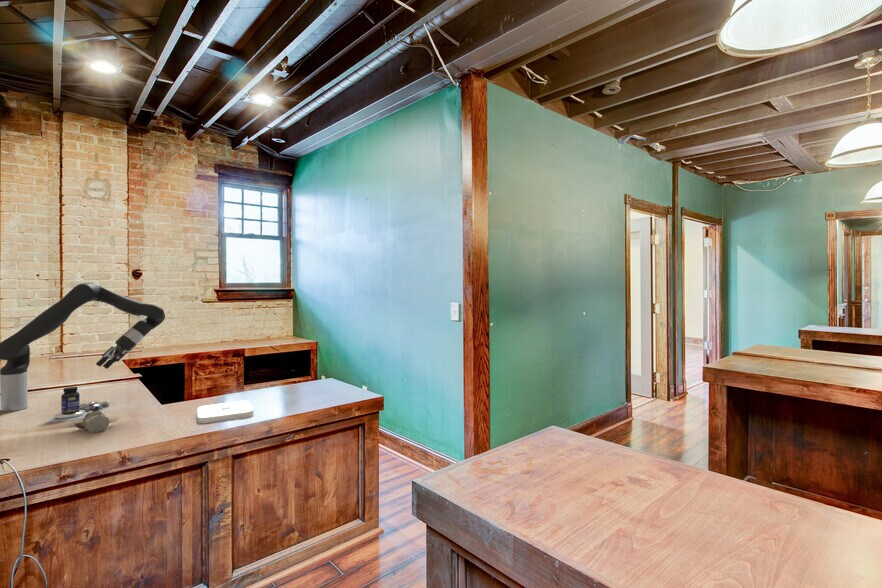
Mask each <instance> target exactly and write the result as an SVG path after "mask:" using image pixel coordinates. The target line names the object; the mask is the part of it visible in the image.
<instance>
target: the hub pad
mask: <svg viewBox="0 0 882 588" xmlns="http://www.w3.org/2000/svg"><path fill="white" fill-rule="evenodd" d="M84 414H85V410H80V411H79V412H77V413H73V414H62V413H60V412H57V413H56V414H54V416H55V418H56V419H68V418H74V417H79V416H82V415H84Z"/></svg>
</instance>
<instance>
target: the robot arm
mask: <svg viewBox="0 0 882 588" xmlns="http://www.w3.org/2000/svg"><path fill="white" fill-rule="evenodd" d="M93 301H94V302H100V303H105V304H108V305H110V306H112V307H114V308H116V309H117V310H120V311H121V312H124V313H128V314H130V315H133V316H136V317H142V316H144V317H146V318H145V319H143V320H139V321H137V322H136V323H135V324H134V325H132V327H130V328H128V330H126V332H124V333H123V334H122V335H121V336H120V337H118V339H117V340H115V343H114V344H115V345H116V346H110V348H108V349H107V350H106V351H105V352H104V353H102V355H101V358H100V359H99V360H98V361H97V362H96V363H95V364H96V366H97V367H104V369H109V368H110V367H111V366H112V365H113V364H114V363H118V362H119V361H120V360H121V359H122V358H123V357H125V355H126V354H128V352H131V351H132V350H133V349H134V348H135V347H136V346H137V345H138V344H139V343H140V342H141V341H142V340H143V339H144V338H145V336H147V335H148V334H149V333H151V331H152V330H154V329H155V328H157V327H158V326H160V325H161V324H162V323H163V322H164V321H165V319H166V314H165V310H164V309H163V308H162V307H161V306H159V305H156V304H152V303H147V302H146V303H144V302H142V301H139V300H135V299H132V298H130V297H127V296H123V295H121V294H118V293H115V292H113V291H110V289H106V288H105V287H102V285H101V286H100V285H99V284H97V283H94V282H83V283H79V284H77V285H76V286H74V287H73V288H72V289H71V290H70V291H69V292H67V294H65V296H63V298H61V299H60V300H58V301H57V302H55V303H54V304H53V305H51V306H50V307H48V308H47V309H45V310H44V311H42V312H41V313H40V314H39V315H38V316H36V317H35V318H33V319H32V320H31V321H29V323H27V324H26V325H24V326H22V328H21V329H20V330H18V331H17V332H16V333H14V334H12V335H10V336H9V337H8V338H5V339H4V340H2V341H1V342H0V360H2V361H6V363H5V365H4V366H2V367H1V368H0V411H1V412H15V411H20V410H24V409H26V408H28V407H29V403H28V402H29V401H28V400H29V399H28V398H29V397H28V396H29V395H28V394H29V393H28V391H29V390H28V388H29V387H28V368H29V366H30V359H31V358H30V357H31V356H30V355H31V348H30V344H31V343H33V342H35V341H37V340H39V339H41V338H43V337H45V336H47V335H49V334H51V333H53V332H54V331H56V330H57V329H58V328H60V327H61V326H62V325H63V324H64V323H66V321H67V320H68V319H69V318H70V316H71V315H72V314H73V312H75V310H78V308H80V307H82V306H83V305H85V304H87V303H90V302H93Z"/></svg>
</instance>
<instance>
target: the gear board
mask: <svg viewBox="0 0 882 588" xmlns="http://www.w3.org/2000/svg"><path fill="white" fill-rule="evenodd" d="M109 406H110V403H109ZM107 408H108V407H103V409H100V410H99V411H101V412H102V413H103V411H105V410H106V409H107ZM92 411H93V410H91V411H89V412H85V414H84V415H82V416H79V417H74V418H68V419H56V418H55V415H54V416H52V417H51V418H50V419H48V421H46V422H45V424H50V423H58V422H66V421H67V422H68V421H75V420H78V421H79V420H83V419H84V417H85V415H86V414H88V413H90V412H92ZM59 413H61V411H60V412H59Z"/></svg>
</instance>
